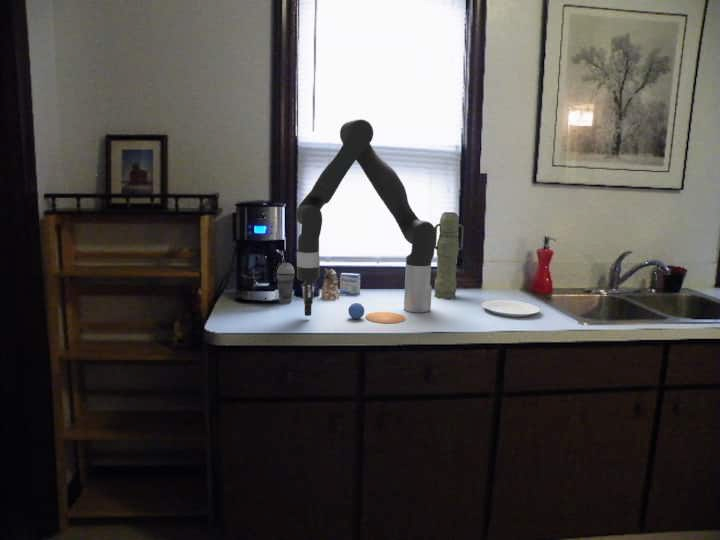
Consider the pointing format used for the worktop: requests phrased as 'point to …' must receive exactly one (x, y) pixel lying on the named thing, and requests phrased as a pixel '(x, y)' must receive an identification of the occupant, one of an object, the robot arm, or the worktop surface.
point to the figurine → (330, 286)
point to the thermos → (447, 255)
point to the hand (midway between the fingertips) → (307, 315)
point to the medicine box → (349, 284)
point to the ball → (356, 311)
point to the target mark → (385, 317)
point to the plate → (511, 308)
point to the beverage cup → (285, 282)
